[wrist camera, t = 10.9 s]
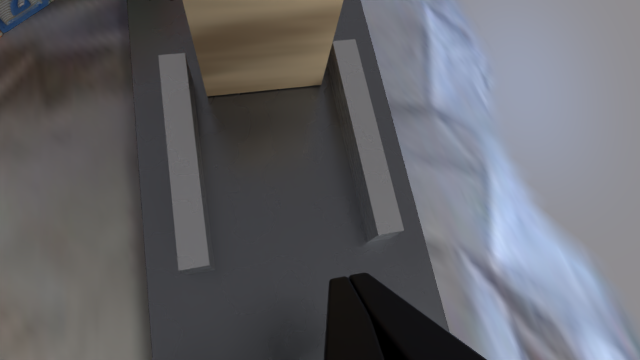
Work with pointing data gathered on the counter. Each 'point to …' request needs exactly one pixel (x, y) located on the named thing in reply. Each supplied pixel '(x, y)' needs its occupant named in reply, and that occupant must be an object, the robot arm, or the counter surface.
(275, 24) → the oak block
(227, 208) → the chute
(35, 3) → the stack of blocks
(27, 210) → the counter surface
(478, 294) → the counter surface
